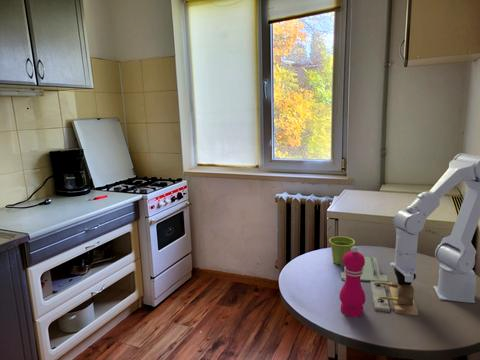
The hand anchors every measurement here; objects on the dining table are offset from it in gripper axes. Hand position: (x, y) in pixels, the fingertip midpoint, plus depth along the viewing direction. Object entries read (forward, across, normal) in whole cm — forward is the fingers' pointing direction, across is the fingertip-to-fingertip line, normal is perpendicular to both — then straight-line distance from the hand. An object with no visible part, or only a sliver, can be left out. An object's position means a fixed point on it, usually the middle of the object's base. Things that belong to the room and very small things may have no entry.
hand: (403, 293), depth 105 cm
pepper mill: (+3, +8, -15) cm, 18 cm away
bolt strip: (+3, -2, -6) cm, 7 cm away
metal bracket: (+3, -17, -11) cm, 20 cm away
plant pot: (+3, -25, -18) cm, 31 cm away
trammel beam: (+3, -2, -2) cm, 4 cm away
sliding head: (+1, +3, -2) cm, 4 cm away
